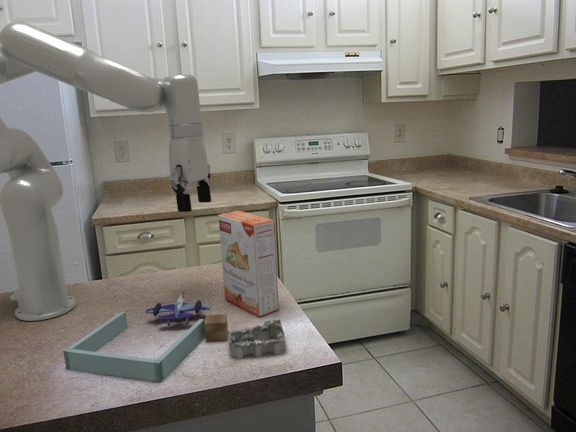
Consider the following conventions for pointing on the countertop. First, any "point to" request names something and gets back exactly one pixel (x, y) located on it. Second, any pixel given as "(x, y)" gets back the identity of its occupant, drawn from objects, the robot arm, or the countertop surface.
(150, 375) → the green u-shaped frame
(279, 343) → the egg carton
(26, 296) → the robot arm
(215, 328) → the walnut block
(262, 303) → the cracker box
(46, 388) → the countertop surface
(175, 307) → the toy airplane
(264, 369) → the countertop surface
